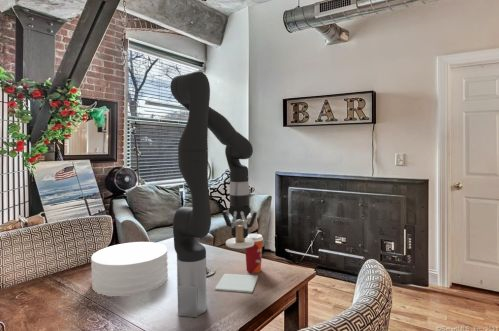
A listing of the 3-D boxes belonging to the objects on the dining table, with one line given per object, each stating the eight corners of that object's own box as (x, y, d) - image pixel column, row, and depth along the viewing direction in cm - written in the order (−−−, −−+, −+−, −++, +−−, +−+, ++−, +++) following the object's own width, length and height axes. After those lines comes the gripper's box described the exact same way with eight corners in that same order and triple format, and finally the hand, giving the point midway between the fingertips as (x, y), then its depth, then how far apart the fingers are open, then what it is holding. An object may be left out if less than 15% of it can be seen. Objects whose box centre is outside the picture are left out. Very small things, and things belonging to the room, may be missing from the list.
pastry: (184, 270, 138) (184, 259, 137) (211, 266, 142) (211, 256, 142) (189, 281, 126) (189, 269, 126) (218, 276, 131) (218, 265, 130)
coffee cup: (263, 274, 132) (263, 238, 131) (243, 274, 132) (243, 238, 131) (263, 266, 140) (263, 232, 139) (244, 266, 140) (244, 232, 139)
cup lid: (251, 249, 117) (251, 230, 116) (222, 247, 119) (222, 229, 118) (256, 240, 127) (256, 223, 127) (229, 239, 129) (229, 222, 129)
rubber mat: (252, 292, 115) (252, 291, 115) (214, 289, 117) (214, 288, 117) (258, 277, 129) (258, 275, 129) (224, 275, 131) (224, 273, 131)
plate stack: (75, 287, 121) (74, 257, 120) (134, 263, 146) (133, 238, 145) (127, 303, 108) (127, 270, 107) (182, 274, 132) (181, 247, 132)
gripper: (218, 194, 119) (219, 239, 120) (256, 194, 117) (256, 241, 118) (224, 191, 127) (224, 234, 128) (259, 191, 124) (259, 235, 125)
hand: (240, 237), depth 123 cm, fingers closed on cup lid, 3 cm apart
